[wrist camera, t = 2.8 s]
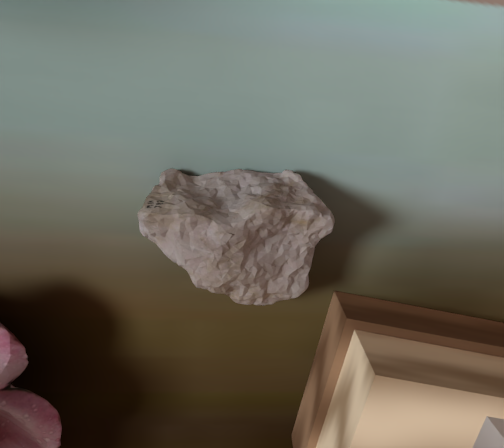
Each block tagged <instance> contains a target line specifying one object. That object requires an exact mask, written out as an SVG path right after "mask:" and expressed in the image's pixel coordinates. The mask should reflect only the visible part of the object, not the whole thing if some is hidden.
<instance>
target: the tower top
mask: <svg viewBox="0 0 504 448" xmlns="http://www.w3.org/2000/svg"><path fill="white" fill-rule="evenodd" d="M487 416H488V417H494V418H500V419H504V358H503V357H497V356H492V355H487V354H481V353H476V352H471V351H465V350H460V349H455V348H449V347H444V346H439V345H433V344H428V343H423V342H417V341H412V340H407V339H401V338H396V337H391V336H385V335H380V334H375V333H369V332H364V331H359V330H354V332H353V335H352V338H351V341H350V345H349V348H348V351H347V354H346V357H345V360H344V363H343V366H342V369H341V372H340V375H339V378H338V381H337V384H336V387H335V390H334V394H333V397H332V400H331V403H330V406H329V409H328V412H327V415H326V418H325V421H324V424H323V427H322V430H321V433H320V436H319V439H318V443H317V446H316V448H473V445H474V443H475V441H476V439H477V437H478V434H479V432H480V430H481V428H482V426H483V423H484V421H485V419H486V417H487Z"/></svg>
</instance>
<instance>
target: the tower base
mask: <svg viewBox="0 0 504 448" xmlns="http://www.w3.org/2000/svg"><path fill="white" fill-rule="evenodd" d="M354 330H359V331H364V332H369V333H375V334H380V335H385V336H391V337H396V338H401V339H407V340H412V341H417V342H423V343H428V344H433V345H439V346H444V347H449V348H455V349H460V350H465V351H471V352H476V353H481V354H487V355H492V356H497V357H503V358H504V323H502V322H497V321H491V320H486V319H481V318H475V317H470V316H465V315H460V314H454V313H449V312H444V311H439V310H433V309H428V308H423V307H417V306H412V305H407V304H402V303H396V302H391V301H386V300H380V299H375V298H370V297H365V296H359V295H354V294H349V293H343V292H338V291H334V293H333V296H332V300H331V303H330V306H329V310H328V313H327V317H326V320H325V323H324V327H323V330H322V334H321V337H320V340H319V344H318V347H317V351H316V354H315V357H314V361H313V364H312V367H311V371H310V374H309V378H308V381H307V384H306V388H305V391H304V395H303V398H302V401H301V405H300V408H299V412H298V415H297V418H296V422H295V425H294V429H293V432H292V443H293V448H316V446H317V443H318V439H319V436H320V433H321V430H322V427H323V424H324V421H325V418H326V415H327V412H328V409H329V406H330V403H331V400H332V397H333V394H334V390H335V387H336V384H337V381H338V378H339V375H340V372H341V369H342V366H343V363H344V360H345V357H346V354H347V351H348V348H349V345H350V341H351V338H352V335H353V332H354Z"/></svg>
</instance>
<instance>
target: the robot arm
mask: <svg viewBox="0 0 504 448" xmlns="http://www.w3.org/2000/svg"><path fill="white" fill-rule="evenodd" d="M473 448H504V419H500V418H494V417H488V416H487V417H486V419H485V421H484V423H483V426H482V428H481V430H480V432H479V434H478V437H477V439H476V441H475V443H474V445H473Z"/></svg>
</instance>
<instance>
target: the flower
mask: <svg viewBox="0 0 504 448" xmlns="http://www.w3.org/2000/svg"><path fill="white" fill-rule="evenodd" d="M27 359H28V356H27V355H26V352H25V347H24V346H23V345H22V344H21V342H20V341H19V340H18V339H17V338H16V336H15V335H14V334H13V333H12V332H11V331H10V330H8V329H7V328H6V327H5V326H4V325H3V324H2V323H1V322H0V448H58V447H59V446H61V442H60V438H61V431H62V426H61V420H60V415H59V413H58V411H57V410H56V409H55V408H54V407H53V406H52V405H51V404H50V403H49V402H48V401H47V400H45V399H44V398H42V397H40V396H38V395H37V394H35V393H33V392H31V391H29V390H27V389H24V388H21V387H14V386H13V385H11V382H13V381H14V380H15V379H16V378H17V377H19V376H20V375H21V373H22V372H23V371H24V370H25V368H26V366H27V364H28V360H27Z"/></svg>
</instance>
